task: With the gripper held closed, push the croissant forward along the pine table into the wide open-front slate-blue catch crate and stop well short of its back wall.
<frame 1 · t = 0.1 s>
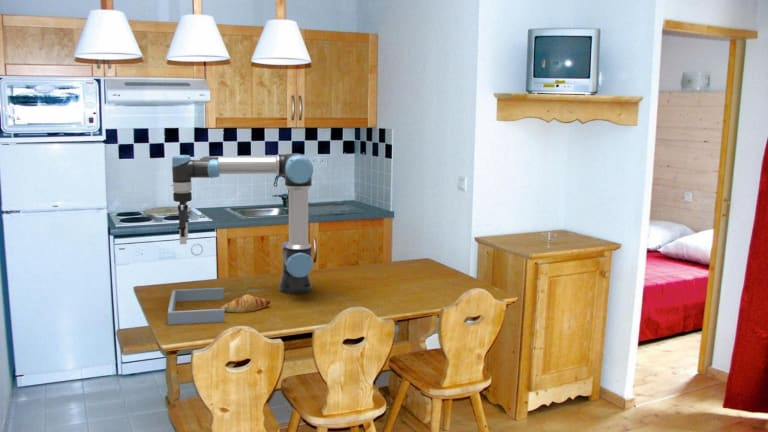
hand: (184, 240, 302), 28 cm above the table, fingers open, 13 cm apart
croissant: (245, 310, 300), on the table
catch crate: (197, 310, 297), on the table
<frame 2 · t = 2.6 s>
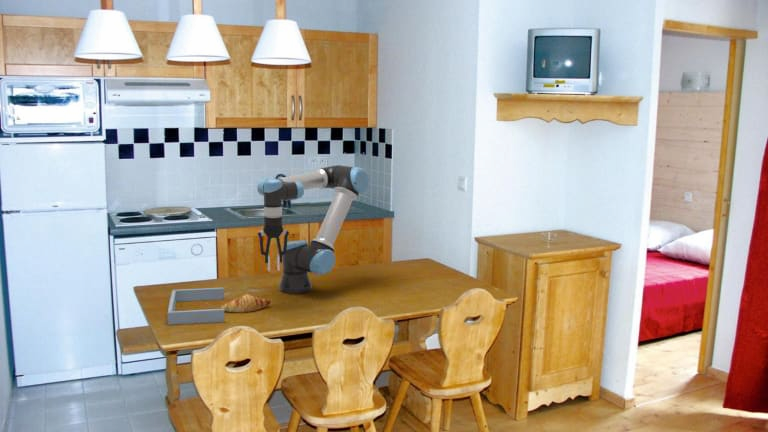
hand: (273, 270, 300), 17 cm above the table, fingers open, 3 cm apart
nothing on the table moved.
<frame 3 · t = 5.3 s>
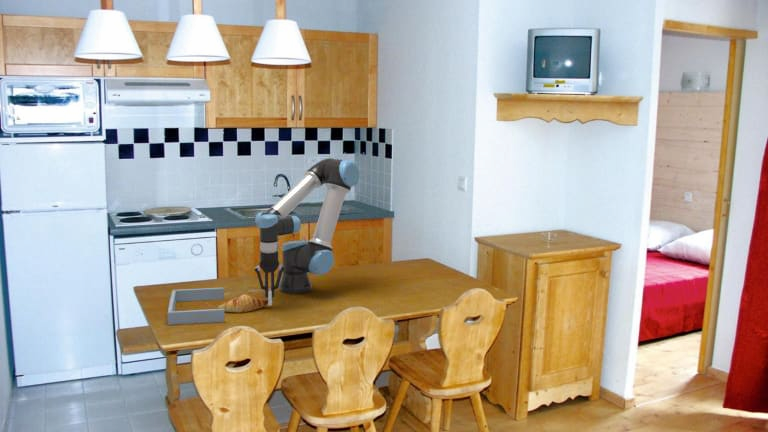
hand: (269, 304, 302), 1 cm above the table, fingers closed
croissant: (243, 310, 300), on the table, touching gripper
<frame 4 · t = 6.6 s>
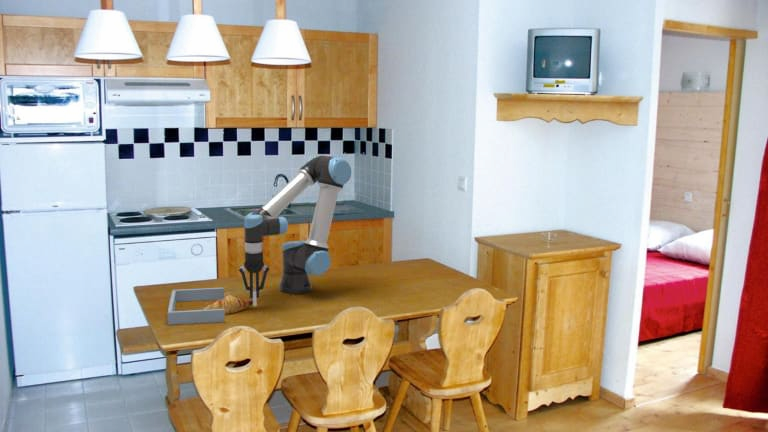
hand: (254, 305, 301), 2 cm above the table, fingers closed
croissant: (228, 311, 297), on the table, touching gripper
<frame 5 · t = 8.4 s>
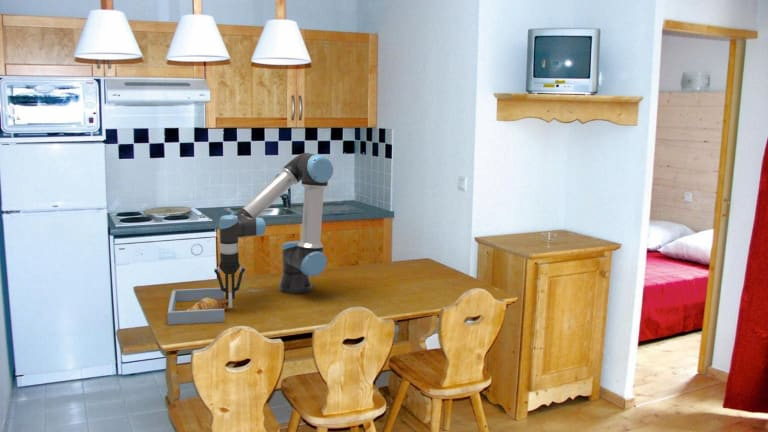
hand: (230, 306, 299), 1 cm above the table, fingers closed
croissant: (205, 314, 293), on the table, touching gripper
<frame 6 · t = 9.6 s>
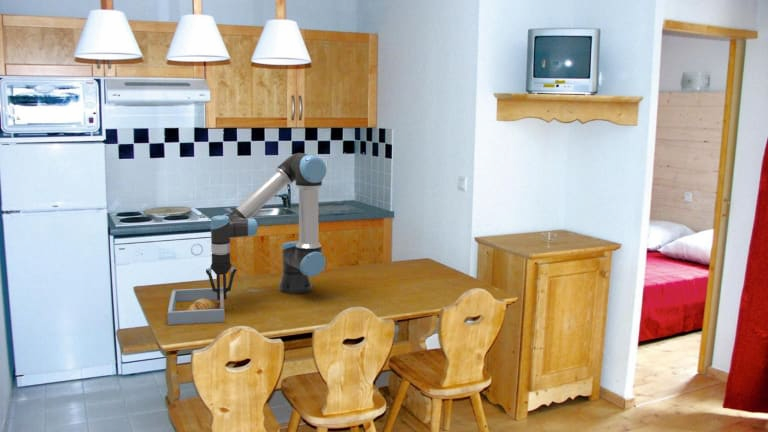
hand: (222, 306, 298), 1 cm above the table, fingers closed
croissant: (201, 315, 293), on the table
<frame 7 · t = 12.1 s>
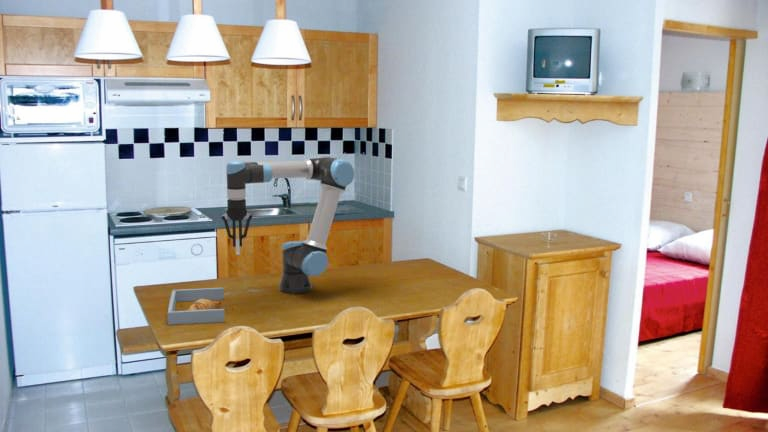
hand: (237, 254, 295), 24 cm above the table, fingers closed
nothing on the table moved.
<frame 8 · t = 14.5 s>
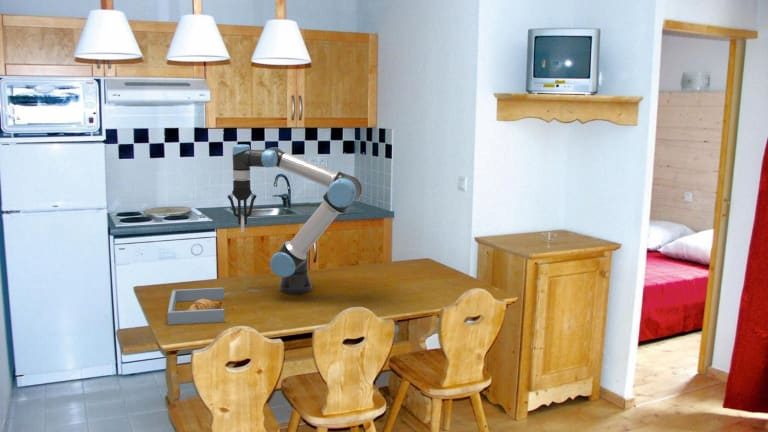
hand: (242, 231, 316), 29 cm above the table, fingers closed
nothing on the table moved.
at the end: croissant inside the target area (5.9 cm from its centre), on the table; croissant moved 18.8 cm from its start; the gripper is holding nothing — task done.
